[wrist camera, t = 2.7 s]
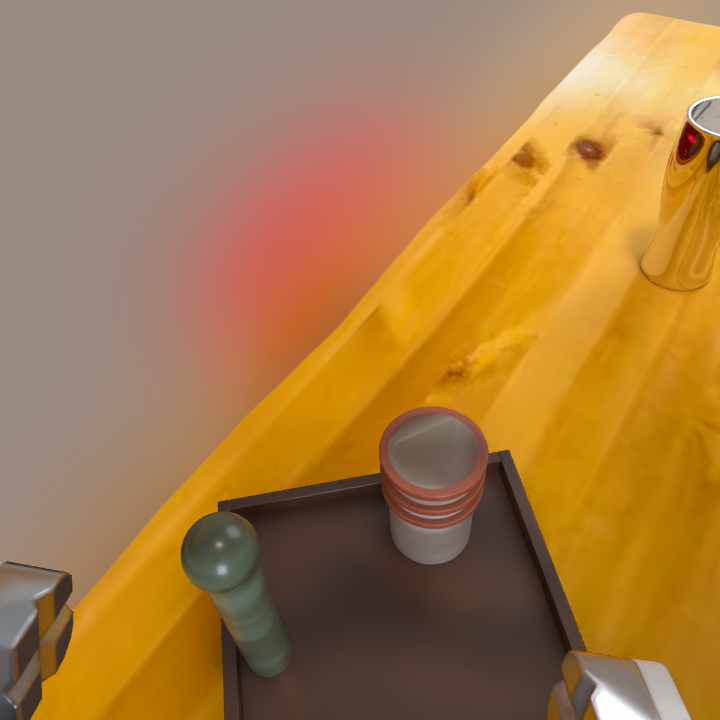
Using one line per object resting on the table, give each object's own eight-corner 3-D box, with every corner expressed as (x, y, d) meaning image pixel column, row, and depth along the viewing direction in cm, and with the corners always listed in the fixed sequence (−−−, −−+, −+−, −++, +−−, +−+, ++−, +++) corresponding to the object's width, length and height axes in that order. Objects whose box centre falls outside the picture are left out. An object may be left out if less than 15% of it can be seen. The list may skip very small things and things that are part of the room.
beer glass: (683, 305, 58) (748, 151, 47) (619, 266, 62) (664, 115, 51) (732, 272, 61) (804, 118, 50) (667, 235, 65) (720, 85, 53)
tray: (629, 793, 34) (744, 708, 22) (237, 879, 32) (139, 837, 21) (506, 465, 47) (537, 304, 35) (223, 516, 46) (159, 366, 34)
